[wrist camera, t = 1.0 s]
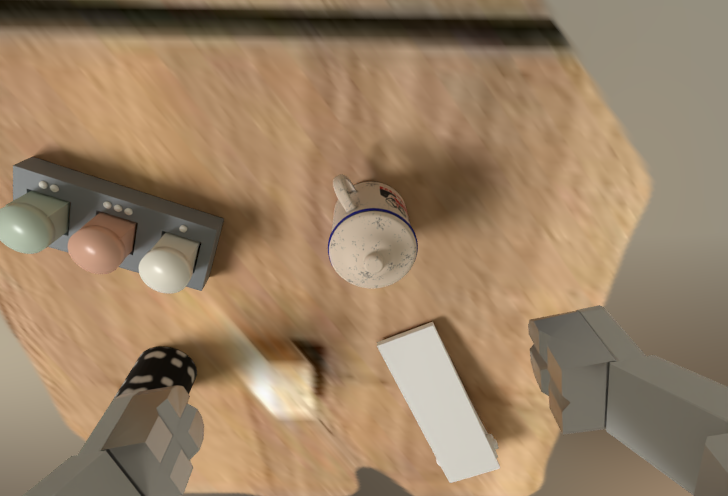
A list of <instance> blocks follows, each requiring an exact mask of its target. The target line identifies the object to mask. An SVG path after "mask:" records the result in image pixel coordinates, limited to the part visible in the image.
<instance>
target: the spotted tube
mask: <svg viewBox="0 0 728 496" xmlns="http://www.w3.org/2000/svg"><path fill="white" fill-rule="evenodd" d="M196 376H197V369H196V366H195V364H194V362H193V361H192V359H191V358H190V357H188V356H187V355H186V354H184V353H183V352H181V351H179V350H177V349H173V348H169V347H154V348H151V349H148V350H146V351H144V352H143V353H142V354H141V355H140V357H139V358H138V360H137V362H136V363H135V365H134V367H133V368H132V370H131V371H130V373H129V375H128V376H127V378H126V379H125V381H124V383H123V384H122V386H121V388H120V389H119V391H118V392H117V394H116V396H115V397H114V399H115V398H116V397H118V396H119V395H123V394H129V393H136V392H139V391H145V390H152V389H158V388H164V387H170V386H176V385H178V386H183V387H184V388H185V390H186V391H187V393H188V394H189V392H190V390H191V388H192V385H193V383H194V381H195V378H196Z"/></svg>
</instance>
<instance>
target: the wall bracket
mask: <svg viewBox="0 0 728 496" xmlns="http://www.w3.org/2000/svg"><path fill="white" fill-rule="evenodd" d="M377 347H378V349H379V351H380V353H381V355H382V357H383V358H384V360H385V362H386V364H387V366H388V368H389V370H390V372H391V373H392V375H393V377H394V379H395V381H396V383H397V385H398V387H399V388H400V390H401V392H402V394H403V396H404V398H405V400H406V402H407V404H408V405H409V407H410V409H411V411H412V413H413V415H414V417H415V419H416V420H417V422H418V424H419V426H420V428H421V430H422V432H423V434H424V435H425V437H426V439H427V441H428V443H429V445H430V447H431V449H432V450H433V452H434V454H435V456H436V461H437V464H438V465H439V466H441V467H442V469H443V471H444V473H445V475H446V477H447V479H448V481H449V482H450V483H452V482H455V481H459V480H462V479H466V478H469V477H473V476H476V475H479V474H483V473H486V472H490V471H493V470H496V469H500V465H499V463H498V460H497V457H498V456H497V453H496V450H495V449H498V444H497V441H496V439H494V438H493V436H492V434H488V432H487V431H486V429H485V427H484V425H483V423H482V422H481V420H480V418H479V416H478V414H477V412H476V410H475V408H474V407H473V405H472V403H471V401H470V399H469V396H468V394H467V392H466V390H465V388H464V386H463V384H462V382H461V380H460V378H459V375H458V373H457V371H456V369H455V367H454V365H453V363H452V361H451V358H450V356H449V354H448V352H447V350H446V348H445V346H444V344H443V342H442V340H441V338H440V336H439V334H438V332H437V330H436V328H435V325H434V323H433V322H430V323H428V324H425V325H422V326H420V327H417V328H414V329H412V330H409V331H406V332H403V333H401V334H398V335H395V336H393V337H390V338H387V339H385V340H382V341H379V342H377Z"/></svg>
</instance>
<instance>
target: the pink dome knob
mask: <svg viewBox="0 0 728 496" xmlns="http://www.w3.org/2000/svg"><path fill="white" fill-rule="evenodd" d="M136 225H137V223H136V222H133V221H130V220H126V219H123V218H120V217H117V216H114V215H110V214H107V213H104V212H100V213H99V214H97V215H96V216H95V217H94V218H92V219H91V220H90V221H89V222H87V223H86V224H85V225H84V226H83V227H81V229H79V230H78V231H77V232H76V233H74V234H73V235H72V236H71V237H70V239H69V241H68V252H69V254H70V256H71V258H72V259H73V261H74V262H75V263H76V264H77V265H78V266H80V267H81V268H83V269H84V270H86V271H89V272H91V273H95V274H107V273H111V272H113V271H114V270H116V269H117V268H118V267H119V266H120V264H121V263H122V262H123V261H124V259H125V258H126V257H127V256H128V255H129V254H130V253H131V252H132V250H133V245H134V238H135V231H136Z"/></svg>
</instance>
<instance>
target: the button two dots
mask: <svg viewBox="0 0 728 496" xmlns="http://www.w3.org/2000/svg"><path fill="white" fill-rule="evenodd" d="M69 210H70V202H68V201H65V200H62V199H59V198H55V197H52V196H49V195H46V194H43V193H39V192H36V191H33V190H31V191H30V192H28V193H26V194H24V195H23V196H21V197H19V198H17V199H15V200H14V201H12V202H10V203H8V204H7V205H6V206H5V207H3V208H2V209H0V240H1V241H2V242H3V243H4V244H5V245H6V246H8V247H9V248H11V249H13V250H15V251H18V252H21V253H27V254H33V253H38V252H40V251H42V250H43V249H45V248H47V247H48V246H49V245H51V244H52V243H53V242H54V241H56V240H57V239H58V238H60V237H61V236H62V235H63V234H65V233H66V232H67V231H68V225H69Z"/></svg>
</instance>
